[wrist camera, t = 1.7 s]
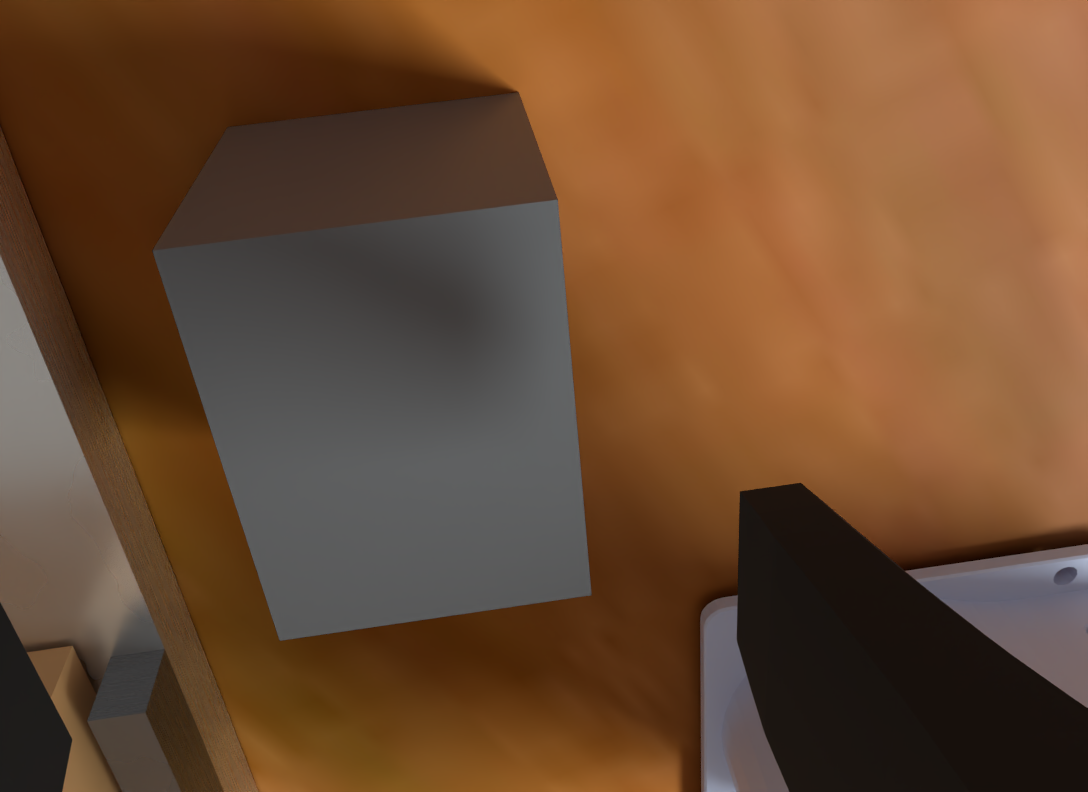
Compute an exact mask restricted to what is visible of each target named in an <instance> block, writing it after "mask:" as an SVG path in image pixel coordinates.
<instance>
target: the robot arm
mask: <svg viewBox="0 0 1088 792" xmlns="http://www.w3.org/2000/svg"><path fill="white" fill-rule="evenodd" d="M1059 570H1060V571H1059ZM700 662H701V792H1088V544H1086V545H1079V546H1072V547H1065V548H1058V549H1051V550H1045V551H1038V552H1031V553H1024V554H1017V555H1010V556H1003V557H997V558H990V559H983V560H976V561H969V562H962V563H955V564H949V565H942V566H935V567H928V568H921V569H914V570H908V571H904V570H903V569H902V568H901V567H899V566H898V565H897V564H896V563H895V562H894V561H892V560H891V559H890V558H889V557H888V556H886V555H885V554H884V553H883V552H882V551H880V550H879V549H878V548H877V547H876V546H874V545H873V544H872V543H871V542H870V541H869V540H867V539H866V538H865V537H864V536H863V535H862V534H860V533H859V532H858V531H857V530H856V529H854V528H853V527H852V526H851V525H850V524H849V523H847V522H846V521H845V520H844V519H843V518H842V517H840V516H839V515H838V514H837V513H836V512H835V511H833V510H832V509H831V508H830V507H829V506H828V505H826V504H825V503H824V502H823V501H822V500H821V499H819V498H818V497H817V496H816V495H814V494H813V493H812V492H811V491H810V490H808V489H807V488H806V487H805V486H804V485H802V484H801V483H797V484H790V485H783V486H776V487H769V488H762V489H755V490H748V491H740V514H739V558H738V595H736V596H729V597H723V598H719V599H716V600H714V601H712V602H710V603H709V604H707V605H706V607H705V608H704V609H703V610H702V613H701V617H700ZM71 745H72V737H71V735H70V734H69V732H68V730H67V728H66V726H65V724H64V722H63V720H62V718H61V716H60V715H59V713H58V711H57V709H56V707H55V705H54V703H53V701H52V699H51V697H50V696H49V694H48V692H47V690H46V688H45V686H44V684H43V682H42V680H41V678H40V677H39V675H38V673H37V671H36V669H35V667H34V665H33V663H32V661H31V659H30V658H29V656H28V654H27V652H26V650H25V648H24V646H23V644H22V642H21V641H20V639H19V637H18V635H17V633H16V631H15V629H14V627H13V625H12V623H11V622H10V620H9V618H8V616H7V614H6V612H5V610H4V608H3V606H2V604H1V603H0V792H62V791H63V786H64V780H65V775H66V770H67V765H68V760H69V755H70V750H71Z"/></svg>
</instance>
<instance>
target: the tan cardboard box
mask: <svg viewBox="0 0 1088 792" xmlns="http://www.w3.org/2000/svg"><path fill="white" fill-rule="evenodd" d="M27 654H28V656H29V658H30V659H31V661H32V663H33V665H34V667H35V669H36V671H37V673H38V675H39V677H40V678H41V680H42V682H43V684H44V686H45V688H46V690H47V692H48V694H49V696H50V697H51V699H52V701H53V703H54V705H55V707H56V709H57V711H58V713H59V715H60V716H61V718H62V720H63V722H64V724H65V726H66V728H67V730H68V732H69V734H70V735H71V737H72V745H71V750H70V755H69V760H68V765H67V770H66V775H65V780H64V786H63V791H62V792H122V790H121V788H120V786H119V784H118V782H117V780H116V778H115V776H114V774H113V772H112V770H111V768H110V766H109V764H108V762H107V760H106V758H105V756H104V754H103V752H102V750H101V748H100V746H99V744H98V742H97V740H96V738H95V736H94V734H93V732H92V730H91V728H90V726H89V724H88V722H87V720H88V717H89V715H90V712H91V709H92V706H93V704H94V701H95V698H96V693H95V691H94V689H93V687H92V685H91V683H90V680H89V678H88V676H87V674H86V672H85V670H84V668H83V666H82V664H81V662H80V660H79V658H78V656H77V654H76V652H75V650H74V648H73V646H67V647H60V648H53V649H46V650H39V651H32V652H27Z"/></svg>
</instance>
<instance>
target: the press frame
mask: <svg viewBox="0 0 1088 792" xmlns="http://www.w3.org/2000/svg"><path fill="white" fill-rule="evenodd" d="M0 603H1V604H2V606H3V608H4V610H5V612H6V614H7V616H8V618H9V620H10V622H11V623H12V625H13V627H14V629H15V631H16V633H17V635H18V637H19V639H20V641H21V642H22V644H23V646H24V648H25V650H26V652H32V651H39V650H46V649H53V648H60V647H67V646H73V648H74V650H75V652H76V654H77V656H78V658H79V660H80V662H81V664H82V666H83V668H84V670H85V672H86V674H87V676H88V678H89V680H90V683H91V685H92V687H93V689H94V691H95V693H96V698H95V701H94V704H93V706H92V709H91V712H90V715H89V717H88V720H87V722H88V724H89V726H90V728H91V730H92V732H93V734H94V736H95V738H96V740H97V742H98V744H99V746H100V748H101V750H102V752H103V754H104V756H105V758H106V760H107V762H108V764H109V766H110V768H111V770H112V772H113V774H114V776H115V778H116V780H117V782H118V784H119V786H120V788H121V790H122V792H258V789H257V787H256V784H255V782H254V779H253V776H252V774H251V771H250V769H249V766H248V764H247V761H246V758H245V756H244V753H243V751H242V748H241V746H240V743H239V740H238V738H237V735H236V733H235V730H234V727H233V725H232V722H231V720H230V717H229V715H228V712H227V709H226V707H225V704H224V702H223V699H222V697H221V694H220V691H219V689H218V686H217V684H216V681H215V679H214V676H213V673H212V671H211V668H210V666H209V663H208V660H207V658H206V655H205V653H204V650H203V648H202V645H201V642H200V640H199V637H198V635H197V632H196V630H195V627H194V624H193V622H192V619H191V617H190V614H189V611H188V609H187V606H186V604H185V601H184V599H183V596H182V593H181V591H180V588H179V586H178V583H177V581H176V578H175V575H174V573H173V570H172V568H171V565H170V563H169V560H168V557H167V555H166V552H165V550H164V547H163V544H162V542H161V539H160V537H159V534H158V532H157V529H156V526H155V524H154V521H153V519H152V516H151V514H150V511H149V508H148V506H147V503H146V501H145V498H144V496H143V493H142V490H141V488H140V485H139V483H138V480H137V477H136V475H135V472H134V470H133V467H132V465H131V462H130V459H129V457H128V454H127V452H126V449H125V447H124V444H123V441H122V439H121V436H120V434H119V431H118V428H117V426H116V423H115V421H114V418H113V416H112V413H111V410H110V408H109V405H108V403H107V400H106V398H105V395H104V392H103V390H102V387H101V385H100V382H99V380H98V377H97V374H96V372H95V369H94V367H93V364H92V361H91V359H90V356H89V354H88V351H87V349H86V346H85V343H84V341H83V338H82V336H81V333H80V331H79V328H78V325H77V323H76V320H75V318H74V315H73V313H72V310H71V307H70V305H69V302H68V300H67V297H66V294H65V292H64V289H63V287H62V284H61V282H60V279H59V276H58V274H57V271H56V269H55V266H54V264H53V261H52V258H51V256H50V253H49V251H48V248H47V246H46V243H45V240H44V238H43V235H42V233H41V230H40V227H39V225H38V222H37V220H36V217H35V215H34V212H33V209H32V207H31V204H30V202H29V199H28V197H27V194H26V191H25V189H24V186H23V184H22V181H21V178H20V176H19V173H18V171H17V168H16V166H15V163H14V160H13V158H12V155H11V153H10V150H9V148H8V145H7V142H6V140H5V137H4V135H3V132H2V130H1V127H0Z"/></svg>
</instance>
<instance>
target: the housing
mask: <svg viewBox="0 0 1088 792" xmlns="http://www.w3.org/2000/svg"><path fill="white" fill-rule="evenodd" d="M152 251H153V254H154V258H155V261H156V264H157V267H158V270H159V273H160V276H161V279H162V282H163V285H164V288H165V291H166V294H167V297H168V300H169V303H170V306H171V310H172V313H173V316H174V319H175V322H176V325H177V328H178V331H179V334H180V337H181V340H182V343H183V346H184V349H185V352H186V355H187V359H188V362H189V365H190V368H191V371H192V374H193V377H194V380H195V383H196V386H197V389H198V392H199V395H200V398H201V401H202V404H203V408H204V411H205V414H206V417H207V420H208V423H209V426H210V429H211V432H212V435H213V438H214V441H215V444H216V447H217V450H218V453H219V457H220V460H221V463H222V466H223V469H224V472H225V475H226V478H227V481H228V484H229V487H230V490H231V493H232V496H233V499H234V502H235V506H236V509H237V512H238V515H239V518H240V521H241V524H242V527H243V530H244V533H245V536H246V539H247V542H248V545H249V548H250V551H251V555H252V558H253V561H254V564H255V567H256V570H257V573H258V576H259V579H260V582H261V585H262V588H263V591H264V594H265V597H266V600H267V603H268V607H269V610H270V613H271V616H272V619H273V622H274V625H275V628H276V631H277V634H278V637H279V640H280V641H282V640H289V639H296V638H302V637H309V636H316V635H323V634H330V633H337V632H344V631H350V630H357V629H364V628H371V627H378V626H385V625H391V624H398V623H405V622H412V621H419V620H426V619H432V618H439V617H446V616H453V615H460V614H467V613H473V612H480V611H487V610H494V609H501V608H508V607H515V606H521V605H528V604H535V603H542V602H549V601H556V600H562V599H569V598H576V597H583V596H590V595H592V594H591V583H590V571H589V559H588V548H587V536H586V524H585V513H584V501H583V489H582V478H581V466H580V454H579V443H578V431H577V419H576V408H575V396H574V385H573V373H572V361H571V350H570V338H569V326H568V315H567V303H566V291H565V280H564V268H563V256H562V245H561V233H560V221H559V210H558V199H557V197H556V194H555V191H554V188H553V186H552V183H551V180H550V177H549V174H548V172H547V169H546V166H545V163H544V161H543V158H542V155H541V152H540V150H539V147H538V144H537V141H536V139H535V136H534V133H533V130H532V128H531V125H530V122H529V119H528V117H527V114H526V111H525V108H524V106H523V103H522V100H521V97H520V95H519V92H517V93H509V94H501V95H492V96H484V97H475V98H467V99H459V100H450V101H442V102H434V103H425V104H417V105H409V106H400V107H392V108H383V109H375V110H367V111H358V112H350V113H342V114H333V115H325V116H317V117H308V118H300V119H291V120H283V121H275V122H266V123H258V124H250V125H241V126H233V127H227V129H226V131H225V132H224V134H223V136H222V137H221V139H220V140H219V142H218V144H217V145H216V147H215V149H214V150H213V152H212V154H211V155H210V157H209V158H208V160H207V162H206V163H205V165H204V167H203V168H202V170H201V172H200V173H199V175H198V176H197V178H196V180H195V181H194V183H193V185H192V186H191V188H190V190H189V191H188V193H187V195H186V196H185V198H184V199H183V201H182V203H181V204H180V206H179V208H178V209H177V211H176V213H175V214H174V216H173V217H172V219H171V221H170V222H169V224H168V226H167V227H166V229H165V231H164V232H163V234H162V235H161V237H160V239H159V240H158V242H157V244H156V245H155V247H154V249H153V250H152Z"/></svg>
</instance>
